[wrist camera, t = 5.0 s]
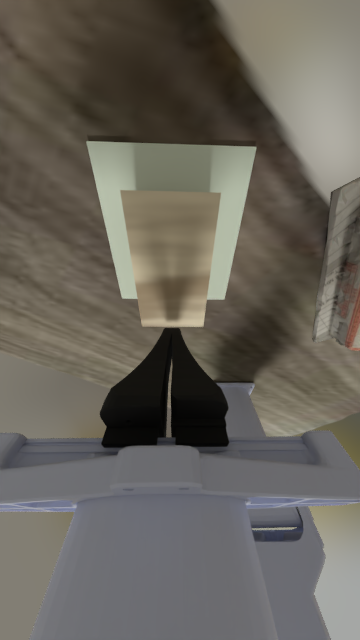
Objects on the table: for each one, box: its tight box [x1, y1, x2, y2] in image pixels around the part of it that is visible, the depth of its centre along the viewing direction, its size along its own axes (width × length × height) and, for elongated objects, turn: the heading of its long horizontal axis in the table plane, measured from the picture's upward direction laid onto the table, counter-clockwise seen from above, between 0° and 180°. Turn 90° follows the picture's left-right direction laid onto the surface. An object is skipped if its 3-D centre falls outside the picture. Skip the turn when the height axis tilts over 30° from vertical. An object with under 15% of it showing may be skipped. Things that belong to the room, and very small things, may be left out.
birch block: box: [120, 190, 221, 327], centre depth 13 cm, size 4×6×10 cm
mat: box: [86, 141, 257, 300], centre depth 14 cm, size 12×12×1 cm
